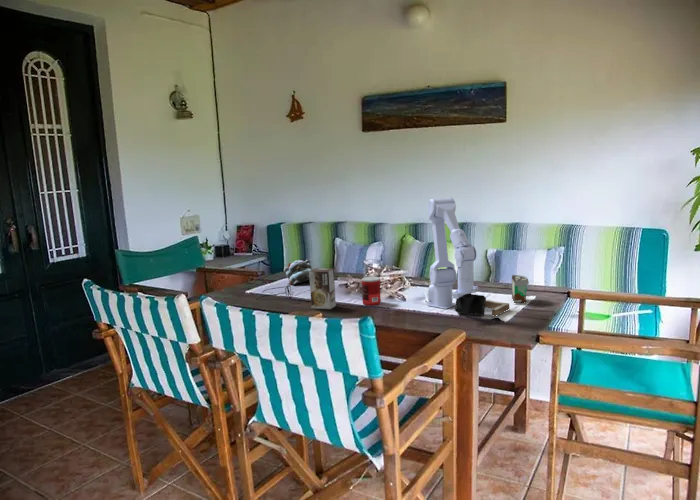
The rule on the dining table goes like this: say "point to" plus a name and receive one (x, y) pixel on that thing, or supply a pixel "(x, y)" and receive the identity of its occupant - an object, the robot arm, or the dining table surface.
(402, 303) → the dining table surface
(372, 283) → the canned food
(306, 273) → the grey lumpy clump
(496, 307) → the frame
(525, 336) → the dining table surface
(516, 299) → the food container
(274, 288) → the glasses
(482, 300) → the digital camera
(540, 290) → the dining table surface
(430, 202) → the robot arm
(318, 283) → the coffee box
